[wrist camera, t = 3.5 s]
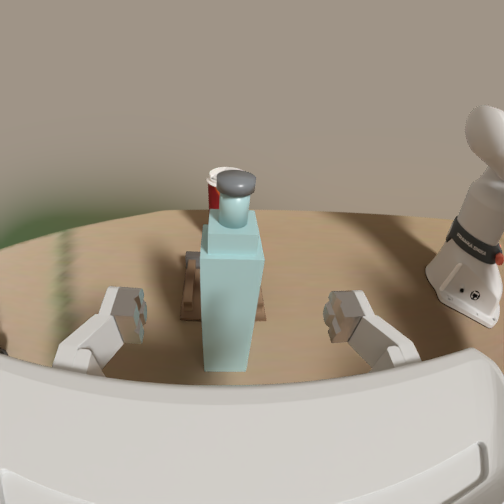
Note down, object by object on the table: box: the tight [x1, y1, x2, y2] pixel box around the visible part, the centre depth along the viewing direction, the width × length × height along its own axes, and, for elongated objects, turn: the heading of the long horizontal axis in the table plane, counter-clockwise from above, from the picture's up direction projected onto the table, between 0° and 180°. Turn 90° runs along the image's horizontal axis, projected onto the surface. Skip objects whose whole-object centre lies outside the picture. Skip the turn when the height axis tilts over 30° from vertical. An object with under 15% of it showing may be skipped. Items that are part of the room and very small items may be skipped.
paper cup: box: [207, 167, 243, 212], centre depth 53 cm, size 8×8×14 cm
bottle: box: [200, 170, 265, 372], centre depth 28 cm, size 5×5×24 cm
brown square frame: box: [180, 251, 266, 321], centre depth 44 cm, size 12×12×3 cm
